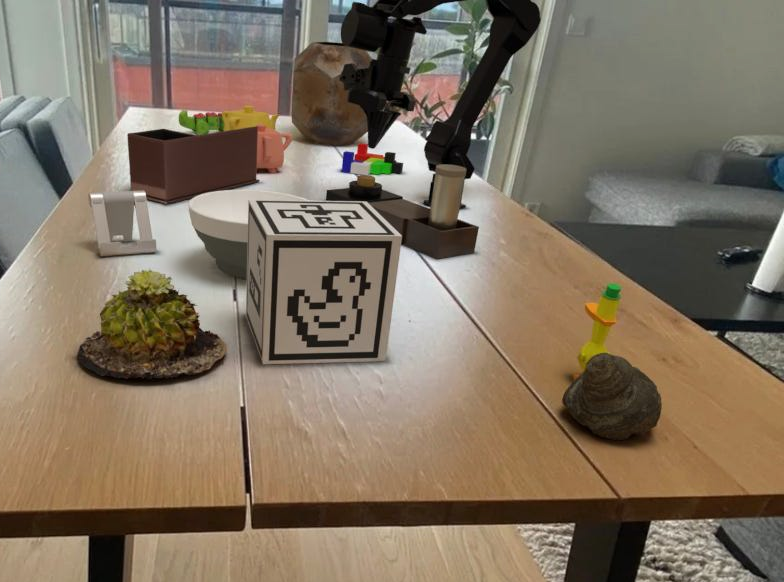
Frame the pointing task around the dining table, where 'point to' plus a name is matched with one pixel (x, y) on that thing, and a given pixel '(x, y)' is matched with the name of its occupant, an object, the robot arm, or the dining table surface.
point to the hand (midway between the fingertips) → (371, 148)
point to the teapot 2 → (271, 148)
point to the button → (366, 180)
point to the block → (320, 280)
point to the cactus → (150, 333)
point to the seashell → (613, 398)
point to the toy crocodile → (202, 122)
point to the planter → (327, 94)
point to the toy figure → (600, 323)
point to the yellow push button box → (361, 193)
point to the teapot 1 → (247, 119)
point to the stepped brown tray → (427, 230)
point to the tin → (446, 196)
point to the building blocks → (370, 162)
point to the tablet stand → (121, 221)
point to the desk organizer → (191, 162)
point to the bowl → (228, 225)
